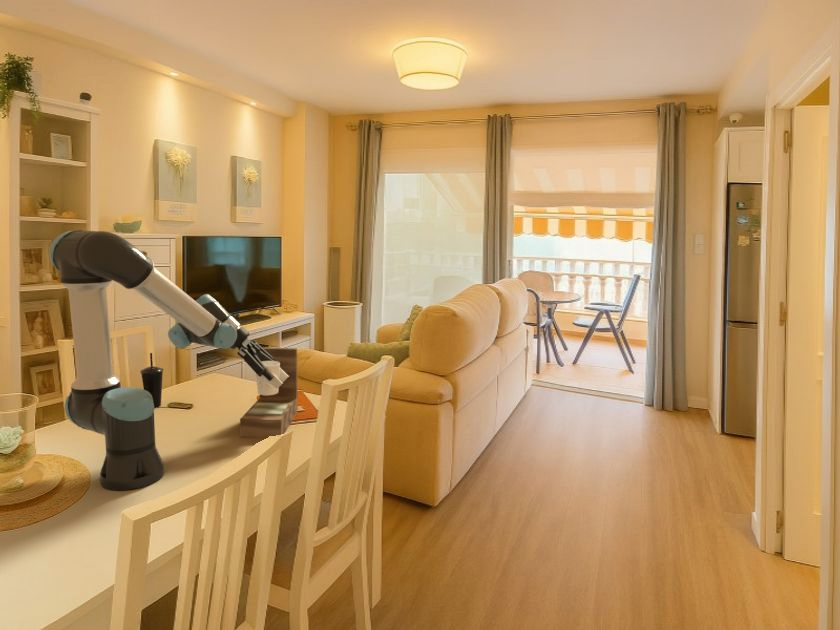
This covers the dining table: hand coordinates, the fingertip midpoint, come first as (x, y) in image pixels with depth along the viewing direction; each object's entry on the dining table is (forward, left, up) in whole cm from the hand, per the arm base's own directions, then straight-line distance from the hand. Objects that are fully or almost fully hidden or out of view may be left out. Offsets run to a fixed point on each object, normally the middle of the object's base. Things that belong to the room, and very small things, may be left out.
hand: (282, 382), depth 185 cm
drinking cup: (+18, +52, -16) cm, 57 cm away
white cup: (0, +5, -4) cm, 6 cm away
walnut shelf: (+2, +5, -15) cm, 16 cm away
